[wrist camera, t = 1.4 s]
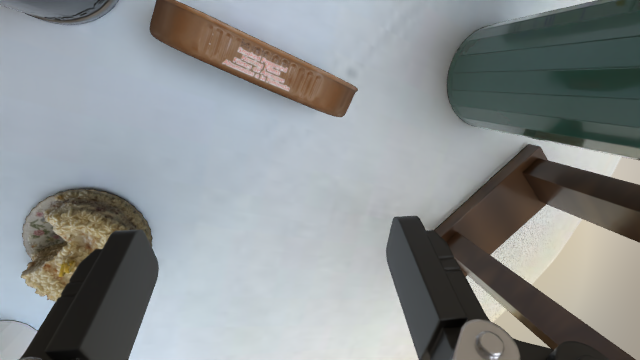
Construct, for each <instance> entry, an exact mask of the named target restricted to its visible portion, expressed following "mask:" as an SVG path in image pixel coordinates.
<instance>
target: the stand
mask: <svg viewBox="0 0 640 360" xmlns="http://www.w3.org/2000/svg"><path fill="white" fill-rule="evenodd" d="M546 204H547V205H550V206H552V207H555V208H557V209H560V210H562V211H564V212H567V213H569V214H572V215H574V216H577V217H579V218H581V219H584V220H587V221H589V222H591V223H594V224H596V225H598V226H601V227H603V228H606V229H608V230H611V231H613V232H615V233H618V234H620V235H623V236H625V237H628V238H630V239H633V240H635V241H637V242H640V185H638V184H634V183H630V182H626V181H623V180H619V179H615V178H611V177H608V176H604V175H600V174H596V173H593V172H589V171H585V170H581V169H578V168H574V167H570V166H566V165H563V164H559V163H555V162H551V161H548V160H547V158H546V156H545V154H544V153H543V151H542V149H541V147H540V146H535V145H531V144H529V145H528V146H526V147H525V148H524V149H523V150H522V151H521V152H520V153H519V154H518V155H517V156H515V157H514V158H513V159H512V160H511V161H510V162H509V163H508V164H507V165H506V166H505V167H503V168H502V169H501V170H500V171H499V172H498V173H497V174H496V175H495V176H494V177H492V178H491V179H490V180H489V181H488V182H487V183H486V184H485V185H484V186H483V187H481V188H480V189H479V190H478V191H477V192H476V193H475V194H474V195H473V196H472V197H471V198H469V199H468V200H467V201H466V202H465V203H464V204H463V205H462V206H461V207H460V208H458V209H457V210H456V211H455V212H454V213H453V214H452V215H451V216H450V217H449V218H447V219H446V220H445V221H444V222H443V223H442V224H441V225H440V226H439V227H438V228H437V229H435V230H434V231H435V232H436V233H437V234H438V235H439V236H440V237H442V238H443V239H444V240H445V241H446V242H447V244H448V246H449V248H450V249H451V251H452V253H453V255H454V259H456V261H457V262H458V264H459V266H460V270H462V272H463V274H464V275H465V277H466V276H467V275H468V276H469V277H470V278H471V279H473V280H474V281H475V282H476V283H477V284H478V285H479V286H481V287H482V288H483V289H484V290H485V291H486V292H487V293H488V294H490V295H491V296H492V297H493V298H494V299H495V300H496V301H498V302H499V303H500V304H501V305H502V306H503V307H504V308H506V309H507V310H508V311H509V312H510V313H511V314H512V315H514V316H515V317H516V318H517V319H518V320H519V321H520V322H522V323H523V324H524V325H525V326H526V327H527V328H528V329H530V330H531V331H532V332H533V333H534V334H535V335H536V336H537V337H539V338H540V339H541V340H542V341H543V342H544V343H546V344H547V345H548V346H549V347H550V348H551V349H556V348H557V347H558V346H559V345H560V344H561V343H563V342H566V341H576V342H581V343H584V344H586V345H588V346H591V347H593V348H594V349H596V350H598V351H599V352H600V353H602V354H603V355H604V356H605V357H607V358H608V359H609V360H635V359H634V358H633V357H631V356H630V355H629V354H627V353H626V352H624V351H623V350H622V349H620V348H619V347H617V346H616V345H615V344H613V343H612V342H610V341H609V340H608V339H606V338H605V337H604V336H602V335H601V334H599V333H598V332H596V331H595V330H594V329H592V328H591V327H590V326H588V325H587V324H585V323H584V322H583V321H581V320H580V319H578V318H577V317H576V316H574V315H573V314H571V313H570V312H569V311H567V310H566V309H564V308H563V307H562V306H560V305H559V304H557V303H556V302H555V301H553V300H552V299H550V298H549V297H548V296H546V295H545V294H543V293H542V292H541V291H539V290H538V289H536V288H535V287H534V286H532V285H531V284H530V283H528V282H527V281H525V280H524V279H523V278H521V277H520V276H518V275H517V274H516V273H514V272H513V271H511V270H510V269H509V268H507V267H506V266H504V265H503V264H502V263H500V262H499V261H497V260H496V259H495V258H493V257H492V256H490V254H491V253H493V252H494V251H495V250H496V249H497V248H498V247H499V246H500V245H502V244H503V243H504V242H505V241H506V240H507V239H508V238H509V237H510V236H512V235H513V234H514V233H515V232H516V231H517V230H518V229H519V228H520V227H522V226H523V225H524V224H525V223H526V222H527V221H528V220H529V219H530V218H532V217H533V216H534V215H535V214H536V213H537V212H538V211H539V210H540V209H542V208H543V207H544V206H545V205H546Z"/></svg>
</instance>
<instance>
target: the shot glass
mask: <svg viewBox="0 0 640 360" xmlns="http://www.w3.org/2000/svg"><path fill="white" fill-rule="evenodd" d="M37 332H38V331H36V330H35V329H33V328H32V327H30V326H29V325H27V324H24V323H20V322H16V321H0V360H18V359H20V358H21V357H22V355H23V354H24V353H25V351H26V350H27V348H28V346H29V345H30V343H31V341H32V340H33V338H34V337H35V335H36V333H37Z"/></svg>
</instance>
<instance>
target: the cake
mask: <svg viewBox="0 0 640 360" xmlns="http://www.w3.org/2000/svg"><path fill="white" fill-rule="evenodd" d="M123 230H143V231H144V232H145V234H146V236H147V238H148V240H149V243H150V245H151V247H152V243H151V242H152V236H151V229H150V228H149V226H148V223H147V221H146V220H145V219H144V218H143V215H142V213H140V212H138V211H137V210H136V208H135V207H134V206H132V205H131V204H129V203H128V202H127V201H125V199H122V198H120V197H118V196H117V195H112V194H109V193H107V192H104V191H100V192H99V191H97V190H95V189H94V190H93V189H89V190H86V189H78V190H68V191H65V192H59V193H57V194H56V195H53V196H50V197H47V198H46V199H45V200H44V201H41V202H39V203H38V205H37V206H36V207H35V208H33V209H32V210H31V212H30V214H29V215H28V216H27V217H26V223H25V224H24V225H23V233H22V237H23V239H24V240H23V242H24V243H23V245H24V246H25V248H26V252H27V254H28V255H29V256H30V257H31V260H32V262H30V263H29V264H28V265H27V266H28V267H27V269H26V270H25V271H23V272H22V275H21V278H24V279H26V281H25V283H26V284H27V286H30V287H32V288H35V289H36V292H35V293H36V294H39V295H40V296H45V295H47V300H49V299H50V300H52V301H55V302H56V301H57V299H58V297H61V293H62V291H63V289H64V288H65V286H66V284H67V283H69V280H70V278H71V276H72V275H73V273H74V271H75V270H76V268H77V267H78V265H79V263H81V262H82V261H83V260H84V259H85V258H86V257H87V256H88V255H89V254H90V253H92V252H93V251H94V250H95V249H103V247H104V245H105V243H106V242H107V240H108V238H109V236H110V235H111V234H112V233H113V232H114V231H123ZM68 263H69V265H68Z"/></svg>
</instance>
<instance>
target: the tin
mask: <svg viewBox="0 0 640 360" xmlns="http://www.w3.org/2000/svg"><path fill="white" fill-rule="evenodd" d="M150 32H151V34H152V35H153V36H154V37H155V38H156V39H158V40H159V41H161V42H163V43H165V44H167V45H169V46H171V47H173V48H175V49H177V50H179V51H181V52H183V53H185V54H188V55H190V56H192V57H194V58H196V59H199V60H201V61H203V62H205V63H208V64H210V65H212V66H214V67H217V68H219V69H221V70H224V71H226V72H228V73H230V74H233V75H235V76H237V77H239V78H242V79H244V80H246V81H248V82H251V83H253V84H255V85H258V86H260V87H262V88H265V89H267V90H270V91H272V92H274V93H277V94H279V95H281V96H284V97H286V98H289V99H291V100H294V101H296V102H298V103H301V104H303V105H306V106H308V107H310V108H313V109H315V110H318V111H321V112H323V113H326V114H329V115H332V116H336V117H343V116H344V115H345V113H346V111H347V109H348V107H349V105H350V103H351V101H352V98H353V96H354V94H355V92H357V91H358V88H356V87H355V86H353V85H352V84H350V83H348V82H346V81H344V80H342V79H340V78H338V77H336V76H334V75H332V74H330V73H328V72H326V71H324V70H322V69H320V68H318V67H315V66H313V65H311V64H309V63H307V62H305V61H303V60H301V59H299V58H297V57H295V56H293V55H290V54H288V53H286V52H284V51H282V50H280V49H278V48H276V47H273V46H271V45H269V44H267V43H265V42H263V41H261V40H259V39H257V38H255V37H253V36H250V35H248V34H246V33H244V32H242V31H240V30H238V29H236V28H234V27H232V26H230V25H228V24H226V23H223V22H221V21H219V20H217V19H215V18H213V17H211V16H209V15H207V14H205V13H203V12H200V11H198V10H196V9H194V8H191V7H189V6H187V5H185V4H183V3H181V2H178V1H176V0H156V4H155V8H154V12H153V15H152V19H151V23H150Z"/></svg>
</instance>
